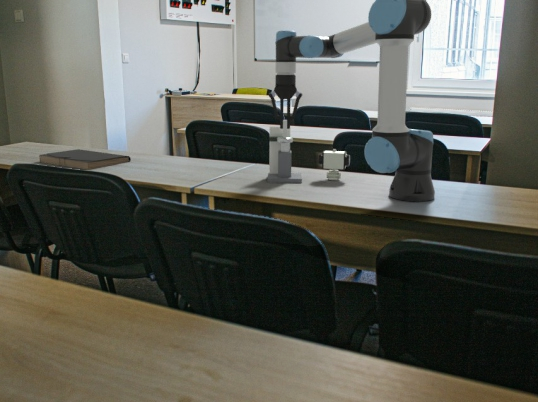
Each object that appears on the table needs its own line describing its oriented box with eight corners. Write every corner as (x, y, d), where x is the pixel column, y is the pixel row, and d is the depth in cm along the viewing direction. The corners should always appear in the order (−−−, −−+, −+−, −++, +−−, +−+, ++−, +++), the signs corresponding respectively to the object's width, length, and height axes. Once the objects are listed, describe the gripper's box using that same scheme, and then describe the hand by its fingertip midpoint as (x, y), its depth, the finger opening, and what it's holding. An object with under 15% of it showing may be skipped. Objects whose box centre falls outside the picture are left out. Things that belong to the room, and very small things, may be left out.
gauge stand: (300, 176, 229) (301, 126, 224) (301, 182, 218) (302, 129, 213) (268, 176, 229) (268, 126, 224) (267, 182, 218) (267, 129, 214)
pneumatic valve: (348, 181, 220) (349, 150, 217) (317, 180, 223) (318, 149, 220) (349, 178, 226) (350, 148, 223) (319, 177, 228) (320, 147, 225)
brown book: (38, 154, 258) (82, 148, 277) (38, 163, 259) (82, 156, 278) (87, 161, 240) (130, 154, 260) (87, 171, 241) (130, 163, 261)
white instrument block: (292, 164, 226) (292, 136, 223) (292, 167, 219) (293, 139, 217) (269, 164, 226) (269, 136, 223) (268, 167, 220) (269, 138, 217)
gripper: (302, 73, 217) (301, 136, 223) (268, 73, 218) (268, 135, 223) (303, 74, 210) (302, 138, 216) (267, 74, 210) (267, 138, 216)
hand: (284, 137), depth 220 cm, fingers closed
